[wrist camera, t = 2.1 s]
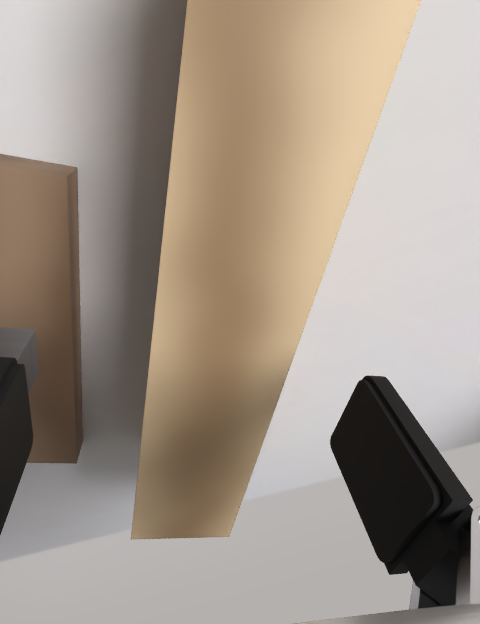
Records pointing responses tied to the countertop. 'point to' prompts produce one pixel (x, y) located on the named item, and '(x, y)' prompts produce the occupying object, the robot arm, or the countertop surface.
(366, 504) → the robot arm
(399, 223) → the countertop surface
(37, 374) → the walnut stand
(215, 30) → the oak beam
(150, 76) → the countertop surface
